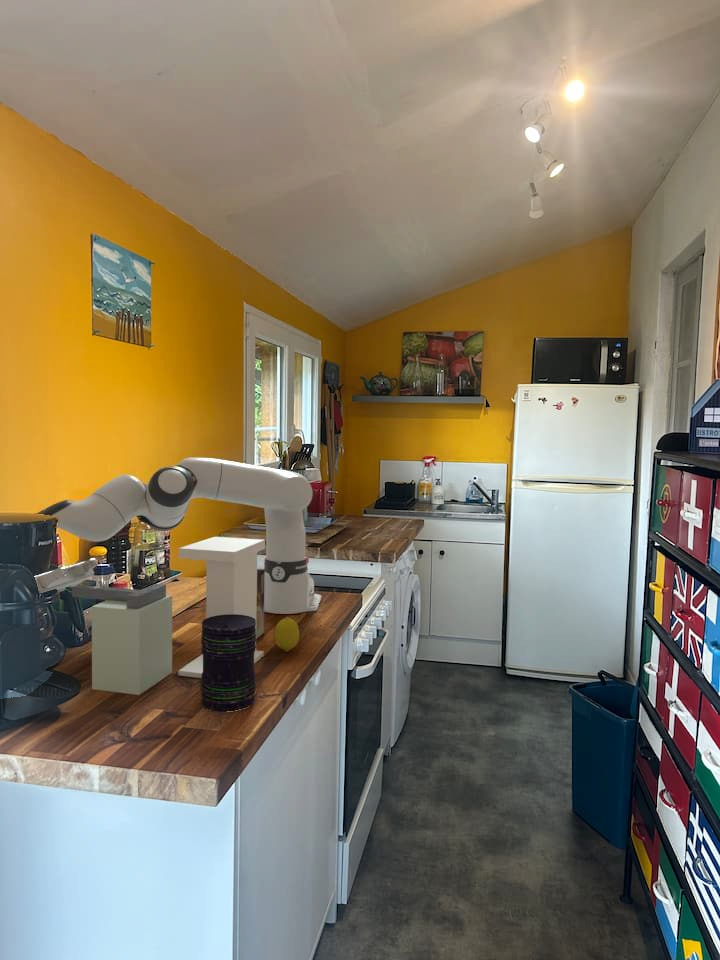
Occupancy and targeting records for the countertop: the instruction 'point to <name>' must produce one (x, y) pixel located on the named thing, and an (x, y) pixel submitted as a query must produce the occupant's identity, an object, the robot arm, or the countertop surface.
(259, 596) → the coffee box
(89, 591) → the t key
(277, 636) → the lemon
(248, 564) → the shelf
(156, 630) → the block
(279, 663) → the countertop surface
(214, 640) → the storage jar
